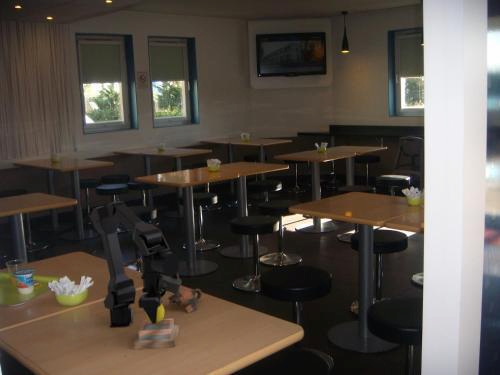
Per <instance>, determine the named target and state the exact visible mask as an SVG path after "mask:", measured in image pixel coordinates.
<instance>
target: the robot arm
mask: <svg viewBox="0 0 500 375" xmlns="http://www.w3.org/2000/svg"><path fill="white" fill-rule="evenodd" d="M90 219H91V221H92V225H93V228H94V229H95V230H96V231H97V233H99V234H100V236H101V241H102V245H103V250H104V254H105V259H106V262H107V268H108V273H109V281H108V285H107V294H106V297H105V299H104V300H103V305H104V308H105V309H107V310H109V316H110V317H109V318H110V324H109V327H110V328H120V327H122V328H123V327H130V326H131V324H132V323H133V320H134V313H133V312H134V311H133V308H132V307H131V305H133V304H135V302H136V293H137V290H136V287H135V282H134V279H133V278H129V276H128V274H126V271H125V266H124V262H123V261H124V260H123V255H122V252H121V251H122V250H121V247H120V243H119V239H118V233H117V230H118V228H119V225H120V224H121V225H123V227H124V228H125V229H126V230H127V231H129V232H130V234H131V235H132V239H133V243H134V244H135V245H136V246H137V248H138V250H137V251H136V254H137V255H140V259H141V260H140V261H141V272H142V274H141V276H140V279H141V280H142V285H143V286H142V289H141V290H142V291H141V292H142V293H143V294H141V295H140V297H139V298H138V301H137V305H138V306H137V307H138V308H139V309H143V310H144V312H145V314H146V313H147V315H148V317H149V318H150V320H151V322H152V323H153V324H154V323H156V320H157V310H158V307H159V306H160V305H161V304H162V305H163V300H162V298H163V297H164V296H165V295H166V292H169V293H172V294H173V295H174V294H178V292H179V291H180V288H181V284H182V282H183V281H182V279H181V278H180V276H179V274H178V272H179V268H180V262H179V260H178V258H177V257H176V256H174V253H173V252H172V251H170V250H171V248H170V246H169V243H168V242H167V240H166V238H165V236H164V234H163V232H162V231H161V229H160V228H159V227H157V226H156V225H154V224H151V223H148V222H145V221H143V220H142V219H141V217H139V216H138V215H137V214H136V213H135V212H133V211H132V210H131V209H130V208H129V207H128V206H127V204H126V203H125V201H121V200H119V201H113V202H110V203H108V204H106V205H103V206H99V207H98V206H97V207H94V208H93V209H92V211H91V213H90Z"/></svg>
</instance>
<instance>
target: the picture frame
mask: <svg viewBox="0 0 500 375" xmlns="http://www.w3.org/2000/svg"><path fill="white" fill-rule="evenodd" d="M179 325H180V324H174V318H163V319H162V321H160V322H159V323H158V324H157V325H155V324H153V323H151V322H150V321H149V320H148V319H145V320H144V319H143V321H142V324H141V326H140V327H139V330H138V331H137V334H136V337H135V339H134V342H133V350H144V349H146V350H147V349H161V348H163V349H164V348H165V349H166V348H175V347H176V344H177V340H178V338H179V333H180V326H179Z"/></svg>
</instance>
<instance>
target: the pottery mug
mask: <svg viewBox="0 0 500 375" xmlns="http://www.w3.org/2000/svg"><path fill="white" fill-rule="evenodd" d="M196 294H197V296H195V295H196ZM202 295H203V292H202V290H201V289H200V288H193V289H192V290H188V288H187V287H184V288H182V289H181V290H179V292H178V294H173V295H171V296H169V297H168V301H169V303H168V305H170V306H173V304H176V305H178V306H180V305H181V304H182V303H183V302H182V300H181V297H182V299H183V300H184V301H187V302H188V304H189V305H187V306H186V307H185V309H184V310H186V312H187V314H190V313H191V312H193V311H195V310H197V309H198V303H199V301H200V300H201V299H202Z"/></svg>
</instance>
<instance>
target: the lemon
mask: <svg viewBox="0 0 500 375" xmlns="http://www.w3.org/2000/svg"><path fill="white" fill-rule="evenodd" d="M145 316H146V320H149V321H150V322H151V320H150V318H149V317H148V315H147V313H146V312H145ZM164 316H165V308H164V305H163V303H162V304H161V305H160V306H159V307H158V310H157V320H156V323H154V324H155V325H157V324H158V323H159V322H160V321H162V319H164ZM151 323H152V322H151Z"/></svg>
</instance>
